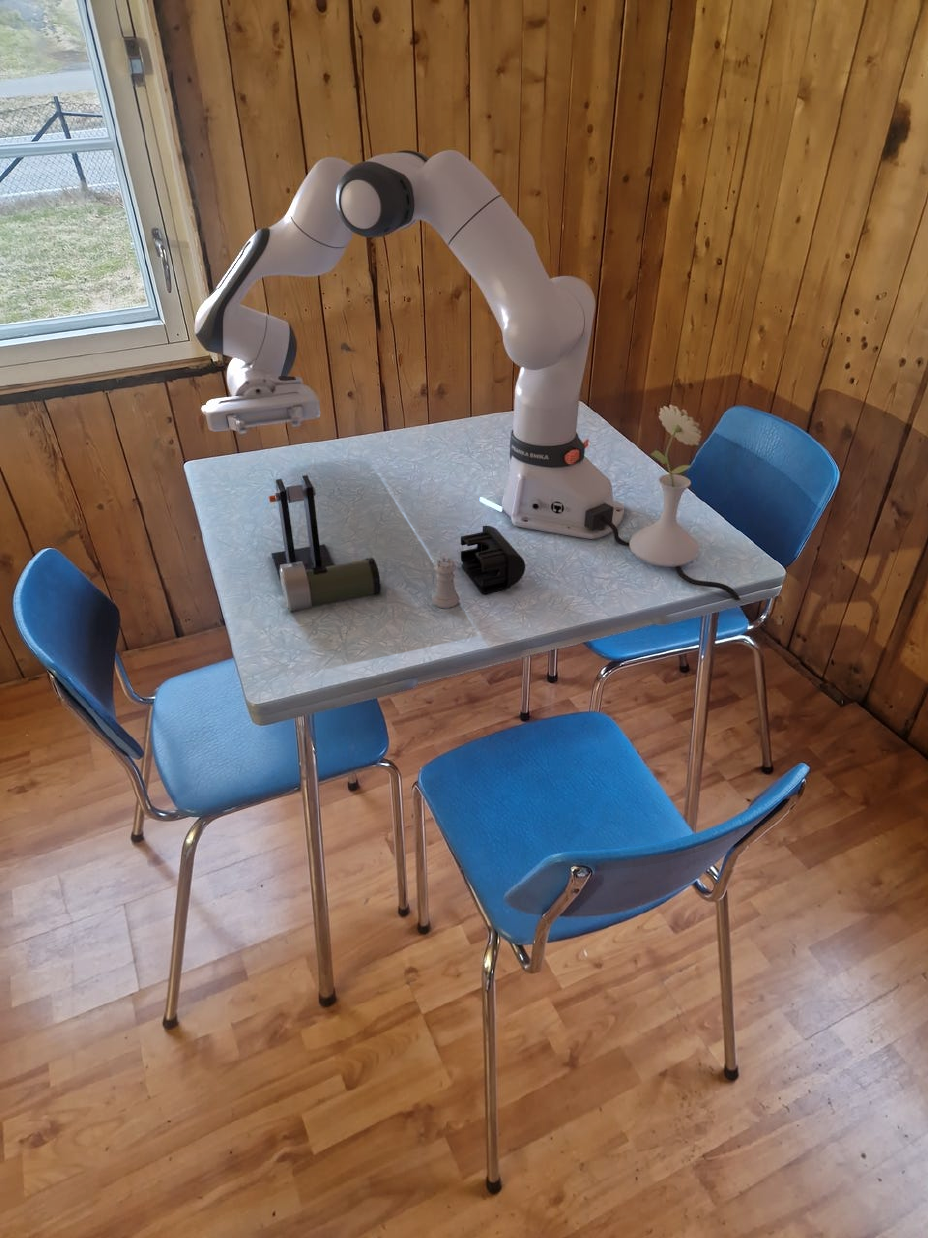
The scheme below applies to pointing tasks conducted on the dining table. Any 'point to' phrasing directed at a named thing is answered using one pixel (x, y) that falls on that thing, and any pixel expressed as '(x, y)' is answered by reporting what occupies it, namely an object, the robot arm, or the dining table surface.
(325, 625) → the dining table surface
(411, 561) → the dining table surface
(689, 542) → the flower in vase
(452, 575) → the rook chess piece
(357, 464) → the dining table surface
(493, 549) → the end cap
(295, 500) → the switch lever
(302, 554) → the black lever stand
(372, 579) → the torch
